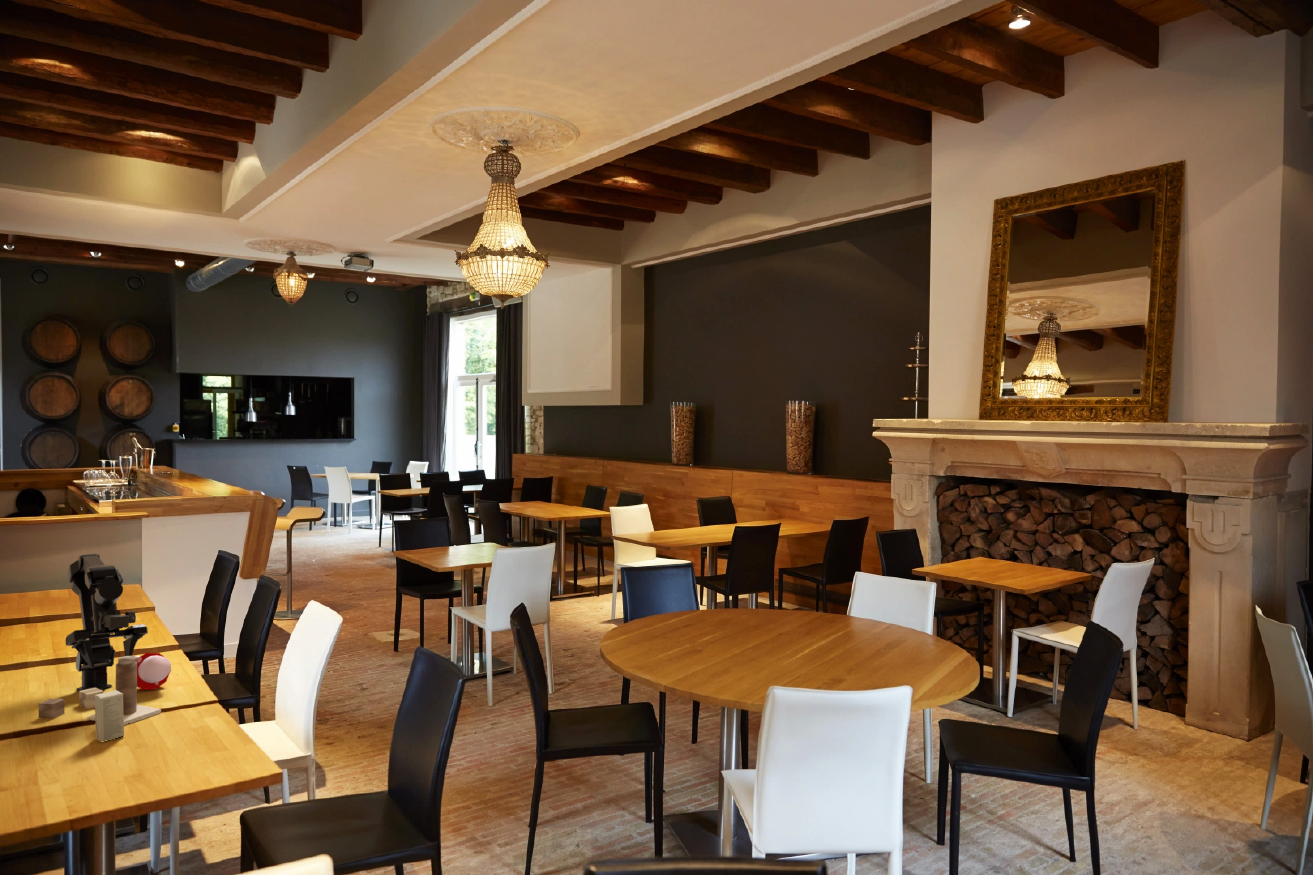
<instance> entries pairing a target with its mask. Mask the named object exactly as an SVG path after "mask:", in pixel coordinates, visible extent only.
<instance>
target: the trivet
mask: <svg viewBox="0 0 1313 875" xmlns="http://www.w3.org/2000/svg"><path fill="white" fill-rule="evenodd" d="M161 713H162V709H161V708H156V707H151V706H145V705H139V704H137V709H136V712H135V713H132V714H128V715H123V716H124V726H127V725H129V724H128V723H130V724H132V723H135V722H138V721H141V720H144V719H147V718H150V717H153V716H157V715H159V714H161ZM89 720H90V721H95V713H94V714H92V715H90V716H89ZM126 724H127V725H126Z"/></svg>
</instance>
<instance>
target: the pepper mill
mask: <svg viewBox="0 0 1313 875" xmlns="http://www.w3.org/2000/svg"><path fill="white" fill-rule="evenodd" d="M135 656H136V655H135ZM135 656H134V655H132V656H125V655H124V656H120V657H118V658H117V662H116V663H115V690H117V691H119V692H121V693H123V715H128V714H132V713H135V712H136V709H137V705H138V704H137V699H138V696H137V695H138V692H137V691H138V690H137V689H138V687H137V662H136V661H135Z"/></svg>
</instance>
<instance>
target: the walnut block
mask: <svg viewBox="0 0 1313 875" xmlns="http://www.w3.org/2000/svg"><path fill="white" fill-rule="evenodd" d="M64 714H65V698H47V699H46V700H43V701H41V702H39V703H38V719H39V718H47V719H48V718H49V719H51V720H54V719H56V718H58V717H60V716H63V715H64ZM57 716H58V717H57ZM47 719H46V720H47ZM49 719H48V720H49Z"/></svg>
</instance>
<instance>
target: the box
mask: <svg viewBox="0 0 1313 875" xmlns="http://www.w3.org/2000/svg"><path fill="white" fill-rule="evenodd" d="M94 714H95V724H94V725H95V739H96V740H97V739H98V740H100V741H105V740H111V741H113V740H112V739H114V740H116V739H115V738H117V737H121V736H124V737H125V725H124V716H123V693H121V692H119V691H117V690H116V689H115V690H112V691H107V692H103V693H102V694H98V695H95V707H94ZM121 738H122V737H121ZM98 740H97V741H98ZM100 741H99V742H100Z"/></svg>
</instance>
